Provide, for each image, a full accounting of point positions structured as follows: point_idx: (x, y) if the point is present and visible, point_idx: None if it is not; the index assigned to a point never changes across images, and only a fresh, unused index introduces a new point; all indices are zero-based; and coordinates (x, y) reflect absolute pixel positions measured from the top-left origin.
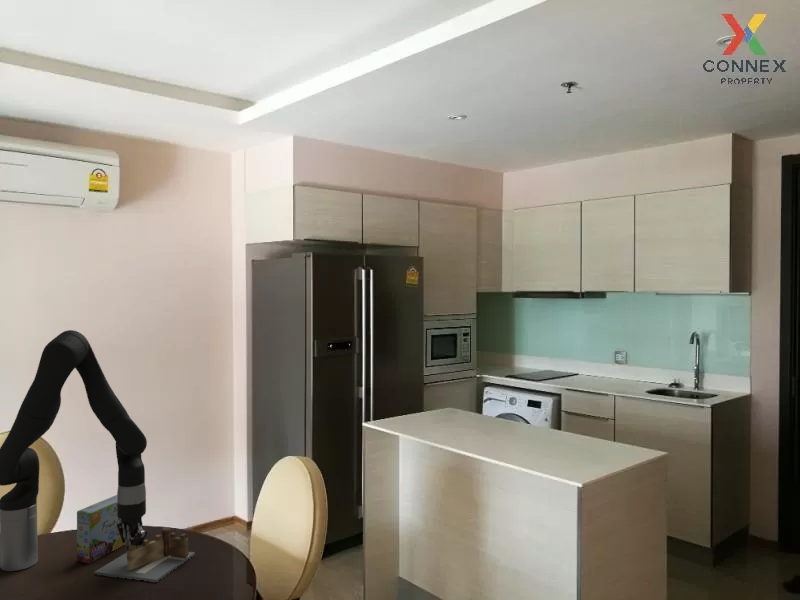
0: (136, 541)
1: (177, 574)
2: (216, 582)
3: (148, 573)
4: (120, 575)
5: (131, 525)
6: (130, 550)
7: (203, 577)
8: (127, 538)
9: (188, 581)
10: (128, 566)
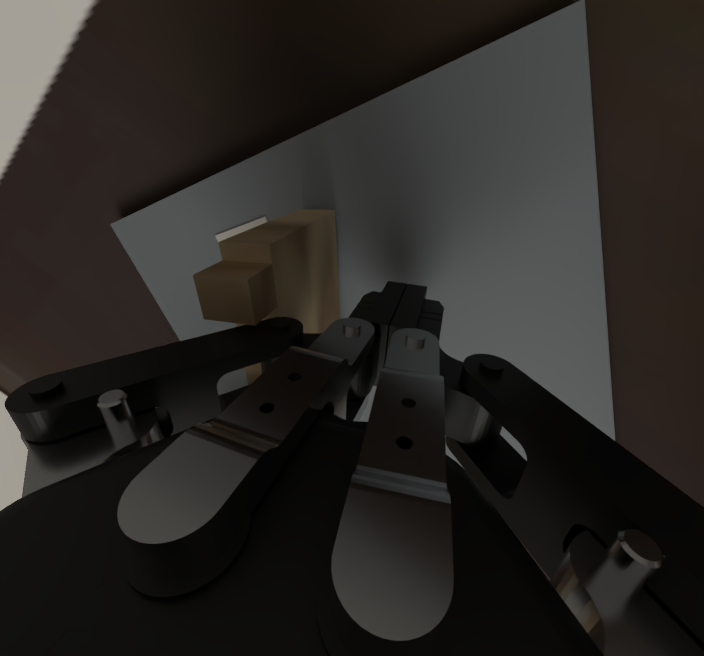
0: (173, 345)
1: (152, 326)
2: (20, 340)
3: (205, 251)
4: (311, 129)
5: (128, 548)
6: (242, 261)
7: (75, 349)
8: (324, 359)
9: (69, 302)
10: (315, 214)
